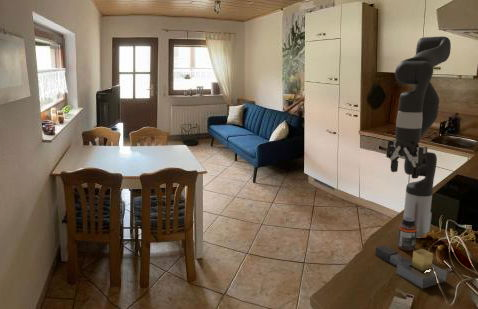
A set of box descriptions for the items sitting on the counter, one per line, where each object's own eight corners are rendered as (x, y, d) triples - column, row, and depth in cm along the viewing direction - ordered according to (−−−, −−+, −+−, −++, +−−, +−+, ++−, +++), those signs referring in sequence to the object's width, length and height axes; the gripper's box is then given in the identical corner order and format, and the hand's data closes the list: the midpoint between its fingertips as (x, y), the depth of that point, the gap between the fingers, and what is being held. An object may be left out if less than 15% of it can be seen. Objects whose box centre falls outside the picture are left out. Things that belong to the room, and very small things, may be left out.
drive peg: (419, 271, 127) (422, 248, 125) (430, 277, 123) (433, 253, 121) (410, 274, 125) (413, 251, 123) (421, 280, 121) (424, 256, 120)
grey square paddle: (390, 250, 142) (391, 242, 141) (445, 281, 122) (446, 271, 121) (368, 256, 138) (369, 247, 137) (422, 288, 118) (423, 278, 117)
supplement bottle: (400, 242, 148) (403, 214, 146) (416, 247, 145) (420, 218, 142) (394, 248, 144) (397, 219, 141) (412, 253, 140) (415, 223, 138)
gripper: (436, 128, 120) (430, 179, 124) (400, 122, 133) (395, 168, 137) (418, 129, 117) (413, 182, 121) (383, 123, 130) (379, 170, 134)
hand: (404, 174), depth 129 cm, fingers open, 8 cm apart
